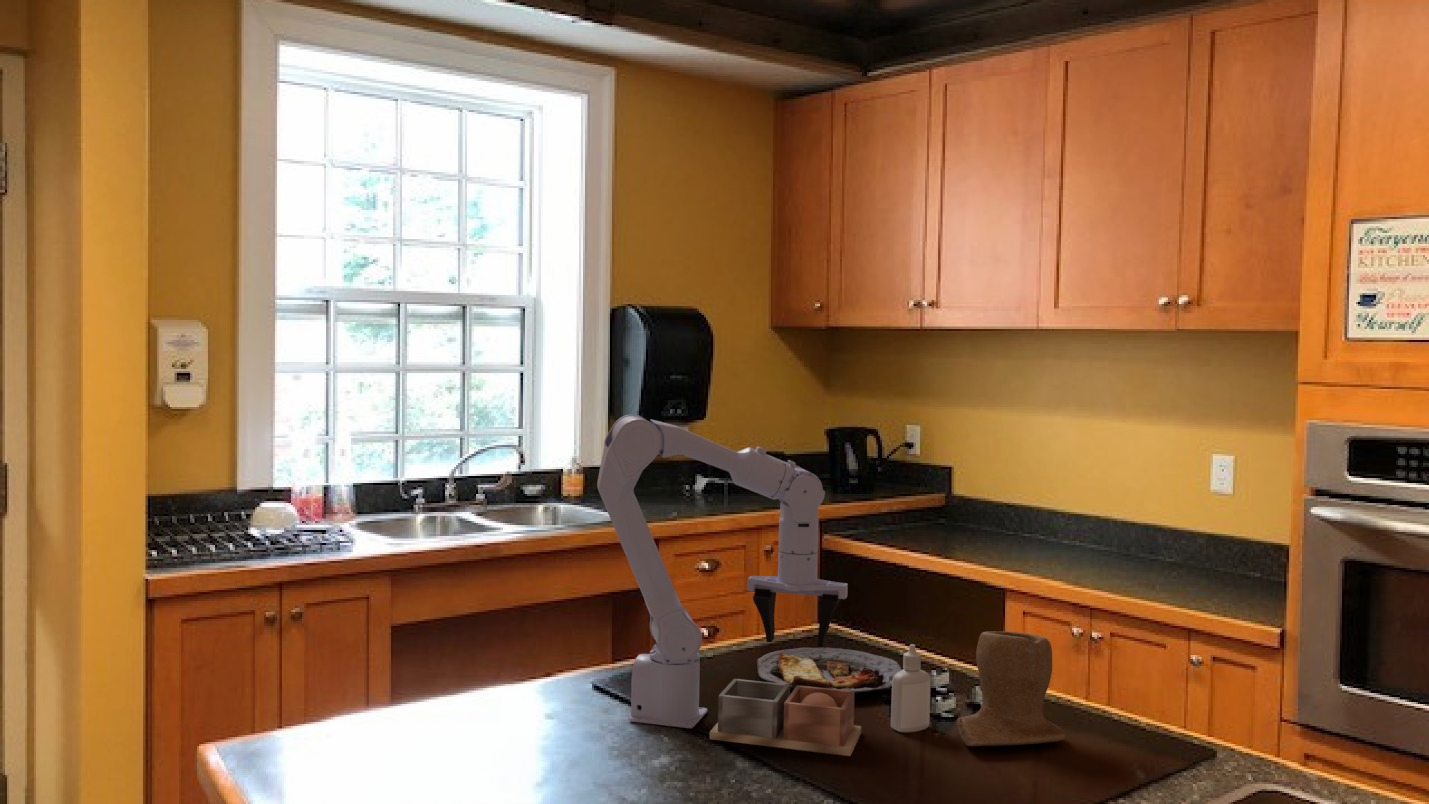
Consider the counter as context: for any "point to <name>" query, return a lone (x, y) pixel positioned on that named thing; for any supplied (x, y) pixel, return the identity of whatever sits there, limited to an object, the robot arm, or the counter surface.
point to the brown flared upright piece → (1011, 692)
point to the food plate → (804, 671)
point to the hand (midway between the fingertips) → (795, 642)
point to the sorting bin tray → (786, 718)
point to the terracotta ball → (819, 700)
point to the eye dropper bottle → (910, 695)
